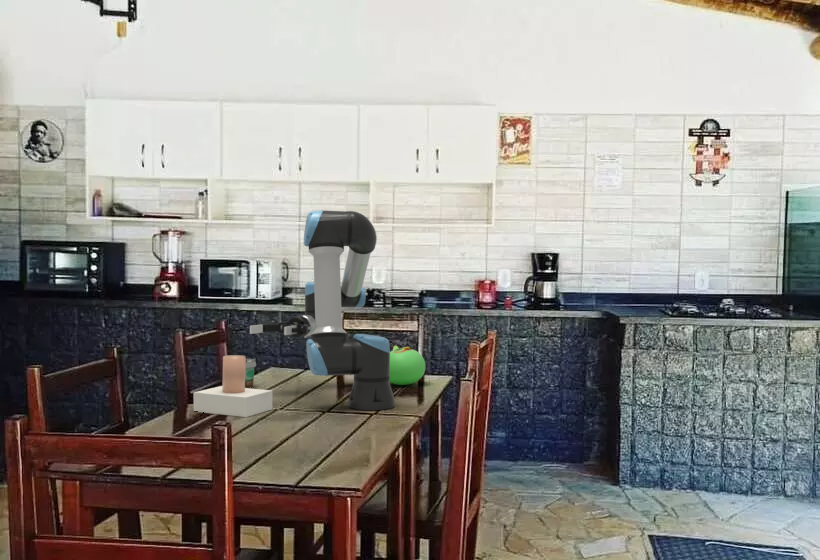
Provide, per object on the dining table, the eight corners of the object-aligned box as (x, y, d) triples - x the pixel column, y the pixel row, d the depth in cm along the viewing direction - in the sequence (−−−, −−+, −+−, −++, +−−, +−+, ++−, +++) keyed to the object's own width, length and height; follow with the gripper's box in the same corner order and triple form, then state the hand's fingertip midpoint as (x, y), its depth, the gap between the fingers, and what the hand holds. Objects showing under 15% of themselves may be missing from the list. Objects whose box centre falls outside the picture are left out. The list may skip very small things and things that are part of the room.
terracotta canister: (249, 390, 263) (250, 356, 263) (235, 393, 257) (235, 358, 257) (232, 388, 266) (232, 354, 266) (217, 391, 260) (218, 356, 260)
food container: (248, 390, 299) (248, 363, 298) (232, 390, 300) (232, 362, 299) (261, 385, 311) (261, 358, 310) (246, 384, 312) (246, 358, 312)
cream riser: (272, 409, 264) (272, 390, 264) (246, 417, 251) (245, 397, 251) (221, 404, 273) (221, 385, 272) (193, 411, 260) (193, 392, 260)
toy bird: (409, 389, 302) (409, 349, 301) (370, 385, 310) (370, 346, 310) (433, 383, 317) (433, 345, 317) (395, 379, 326) (395, 342, 325)
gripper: (332, 338, 290) (299, 343, 271) (271, 335, 300) (236, 340, 281) (331, 316, 290) (299, 320, 271) (271, 315, 300) (236, 318, 281)
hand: (267, 330), depth 276 cm, fingers open, 13 cm apart
